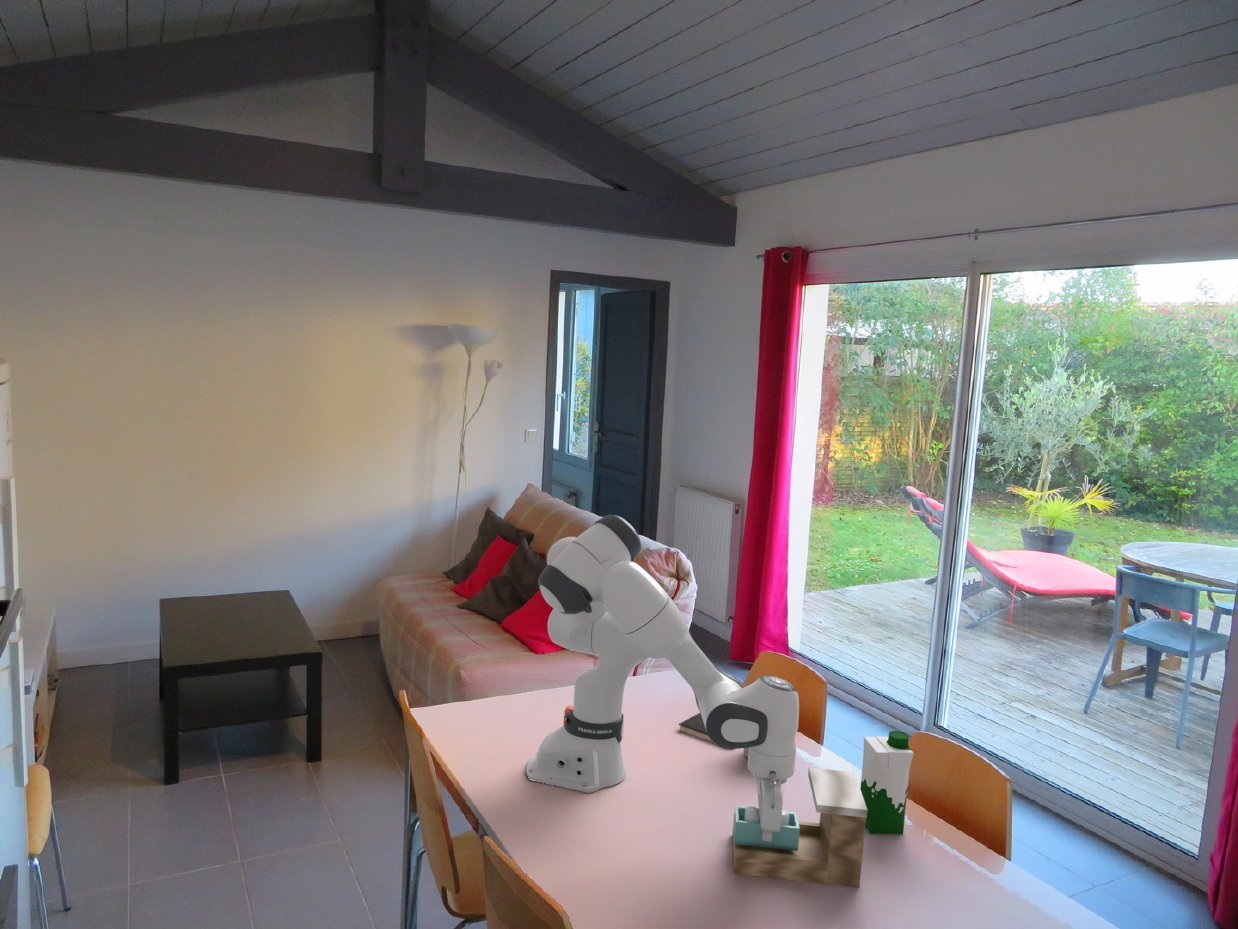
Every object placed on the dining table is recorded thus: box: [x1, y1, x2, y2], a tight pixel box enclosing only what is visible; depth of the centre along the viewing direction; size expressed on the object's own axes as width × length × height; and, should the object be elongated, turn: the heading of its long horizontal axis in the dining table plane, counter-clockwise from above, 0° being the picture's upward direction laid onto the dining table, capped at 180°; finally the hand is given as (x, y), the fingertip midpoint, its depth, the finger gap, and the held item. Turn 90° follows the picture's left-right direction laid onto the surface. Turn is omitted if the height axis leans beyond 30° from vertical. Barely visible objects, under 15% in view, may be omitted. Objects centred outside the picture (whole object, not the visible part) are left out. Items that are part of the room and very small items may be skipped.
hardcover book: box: [678, 712, 714, 743], centre depth 235 cm, size 16×23×2 cm
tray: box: [732, 805, 800, 851], centre depth 173 cm, size 12×6×6 cm, turn 84°
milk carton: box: [860, 730, 914, 835], centre depth 187 cm, size 9×9×20 cm
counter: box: [732, 767, 867, 889], centre depth 172 cm, size 23×15×16 cm, turn 84°
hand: (765, 829), depth 173 cm, fingers closed on tray, 6 cm apart
